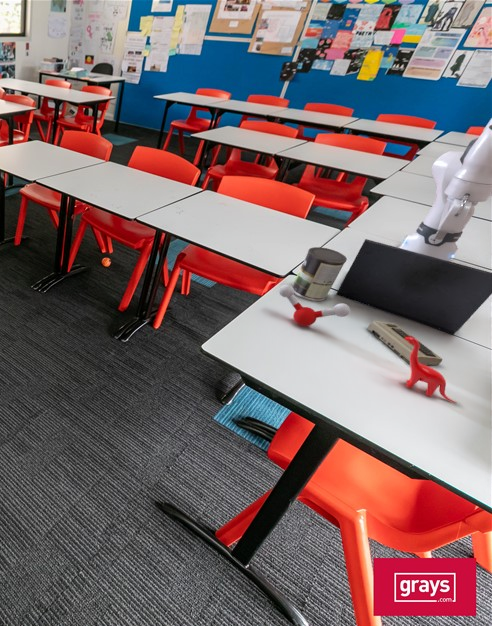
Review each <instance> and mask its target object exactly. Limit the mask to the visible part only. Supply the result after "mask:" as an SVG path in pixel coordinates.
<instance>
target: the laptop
mask: <svg viewBox="0 0 492 626" xmlns="http://www.w3.org/2000/svg"><path fill="white" fill-rule="evenodd" d="M335 295H336V296H339V297H342V298H344V299H347V300H350V301H353V302H356V303H358V304H361V305H365V306H368V307H370V308H374V309H377V310H380V311H382V312H386V313H388V314H392V315H394V316H398V317H400V318H403V319H406V320H409V321H412V322H414V323H418V324H420V325H424V326H427V327H429V328H432V329H436V330H437V331H441V332H444V333H446V334H450V335H452V336H453V335H455V334H456V333H457V332H456V331H453V330H450V329H447V328H444V327H441V326H438V325H435V324H432V323H429V322H426V321H423V320H420V319H417V318H414V317H411V316H408V315H405V314H402V313H400V312H397V311H394V310H391V309H388V308H385V307H382V306H379V305H376V304H373V303H370V302H367V301H364V300H361V299H358V298H355V297H352V296H349V295H346V294H343V293H340V292H338V291H337V292H336V293H335Z"/></svg>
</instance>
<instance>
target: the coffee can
mask: <svg viewBox="0 0 492 626" xmlns="http://www.w3.org/2000/svg"><path fill="white" fill-rule="evenodd" d="M347 258H348V257H346V256H345V255H344V254H343V253H341V252H339V251H337V250H334V249H331V248H326V247H320V246H319V247H318V246H317V247H316V246H315V247H314V246H313V247H311V248H309V249H308V250H307V253H306V256H305V257H304V260H303V262H302V264H301V265H300V266H301V267H300V269H299V270H298V272H297V275H296V277H295V279H294V280H293V284H292V285H291V286H292V287H293V289H294V293H293V294H294V295H296V296H298V297H300V298H302V299H305V300H308V301H313V302H322V301H324V300H326V299H327V296H328V294H329V293H330V290H331V289H332V287H333V286H334V283H335V282H336V280H337V278H338V276H339V274H340V273H341V270H342V268H343V267H344V265H345V263H346V262H347V260H348V259H347Z"/></svg>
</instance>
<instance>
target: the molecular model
mask: <svg viewBox="0 0 492 626" xmlns="http://www.w3.org/2000/svg"><path fill="white" fill-rule="evenodd" d="M278 292H279V295H280V296H282V298H287V300H288V301H289V303H290V304H291V305H292V307H293V309H294V310H295V311H294V313H293V320H294V322H295V324H297V325H299V326H301V327H309V326H312V325H313V324H314V323H316V321H317V318H323V317H329V316H336V317H340V318H344V317H347V316H348V315H349V314H350V312H351V308H350V307H349V305H348V304H346V303H337V304H336V305H335V306H333V308H327V309H322V310H321V309H320V310H314V309H313V308H311V307H309V306H302V304H301V303H300V301H299V300H298V298H297V297H296V296H295V293H294V289H293V287H292V285H290V284H283V285H281V287H279V290H278Z"/></svg>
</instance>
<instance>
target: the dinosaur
mask: <svg viewBox="0 0 492 626" xmlns="http://www.w3.org/2000/svg"><path fill="white" fill-rule="evenodd" d="M413 337H414V336H412V337H405V340H406V341H408V342H409V344H412V345H414V347H413V350H412V353H411V355H410V364H409V366H410V377H409V379H407V380H406V384H405V385H406V387H407V389H408V388H409V389H412V388H413V387H414V386H415V385H416V384H417V383H418V382H422V383H425V384H427V387H426V388H427V389H426V393H425V395H426V396H428V397H432V396H433V395H434V394H435V392H436V390H437V389H438V391H439V394H440V395H441V396H442V397H443V398H444V399H445V400H447V401H449V402H452V403H454V404H457V402H456V401H455V400H453V399H451V398H449V397H448V396H447V395H446V385H447V381H446V379H445V376H444V375H442V373H441V372H439V371H438V370H436V369H434V368H433V367H431V366H429V365H424V364H421V363H419V361H418V350H419V347H420V345H419V342H420V341H419V340H418V339H417V340H418V341H419V342H418V341H417V340H416V337H414V338H413Z"/></svg>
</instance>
